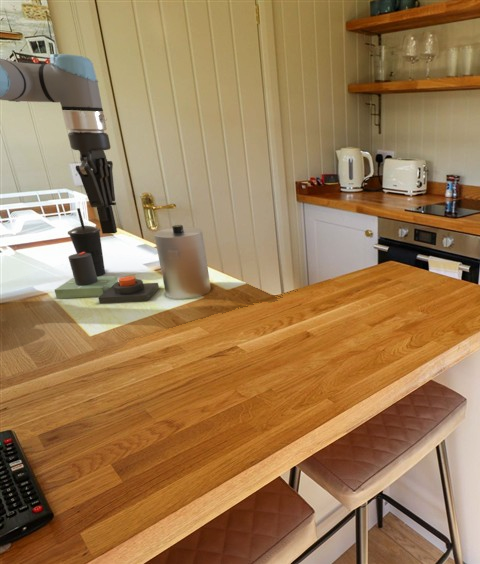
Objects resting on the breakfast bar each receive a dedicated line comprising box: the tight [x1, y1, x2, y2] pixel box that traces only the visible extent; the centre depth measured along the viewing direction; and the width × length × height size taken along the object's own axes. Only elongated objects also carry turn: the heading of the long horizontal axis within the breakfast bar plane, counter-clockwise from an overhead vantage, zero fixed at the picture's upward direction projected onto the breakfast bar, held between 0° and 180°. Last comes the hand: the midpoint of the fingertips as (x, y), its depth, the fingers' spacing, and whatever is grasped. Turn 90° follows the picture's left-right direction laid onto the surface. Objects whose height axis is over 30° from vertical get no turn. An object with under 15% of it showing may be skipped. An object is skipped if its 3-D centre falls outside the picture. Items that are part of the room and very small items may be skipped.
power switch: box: [118, 275, 136, 286], centre depth 110 cm, size 4×4×2 cm
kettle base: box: [97, 278, 160, 304], centre depth 111 cm, size 11×9×4 cm
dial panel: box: [54, 275, 119, 300], centre depth 113 cm, size 11×9×3 cm
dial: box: [68, 252, 98, 285], centre depth 111 cm, size 5×5×8 cm
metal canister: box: [153, 224, 212, 300], centre depth 111 cm, size 14×11×19 cm
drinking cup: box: [67, 207, 106, 277], centre depth 123 cm, size 8×8×20 cm
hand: (109, 232), depth 104 cm, fingers closed
